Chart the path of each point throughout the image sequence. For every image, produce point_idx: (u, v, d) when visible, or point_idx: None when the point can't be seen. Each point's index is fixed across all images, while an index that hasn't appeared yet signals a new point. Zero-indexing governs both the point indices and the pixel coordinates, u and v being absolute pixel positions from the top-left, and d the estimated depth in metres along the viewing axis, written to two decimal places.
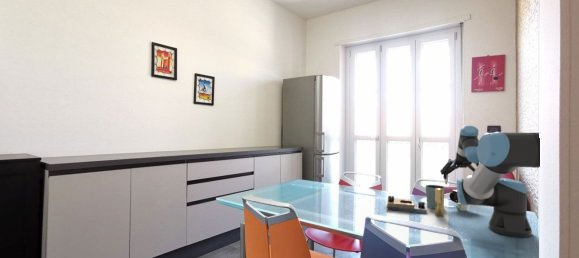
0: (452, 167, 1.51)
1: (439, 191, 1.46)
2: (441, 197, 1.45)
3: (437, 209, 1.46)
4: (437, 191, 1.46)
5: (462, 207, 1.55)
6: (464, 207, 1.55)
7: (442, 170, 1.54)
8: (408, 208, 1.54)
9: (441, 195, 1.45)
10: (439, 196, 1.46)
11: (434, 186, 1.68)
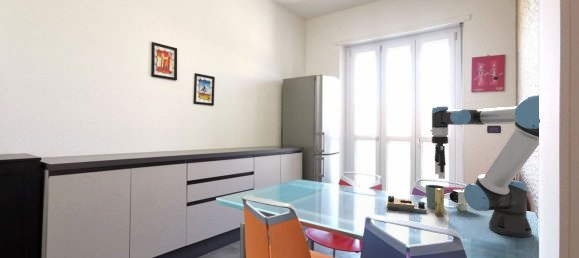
0: None
1: (439, 191, 1.46)
2: (441, 197, 1.45)
3: (437, 209, 1.46)
4: (437, 191, 1.46)
5: (462, 207, 1.55)
6: (464, 207, 1.55)
7: (442, 160, 1.39)
8: (408, 208, 1.54)
9: (441, 195, 1.45)
10: (439, 196, 1.46)
11: (434, 186, 1.68)
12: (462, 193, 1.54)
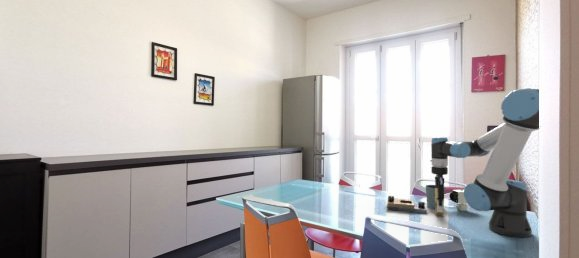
0: None
1: None
2: None
3: None
4: (437, 191, 1.46)
5: (462, 207, 1.55)
6: (464, 207, 1.55)
7: (441, 195, 1.42)
8: (408, 208, 1.54)
9: None
10: None
11: (434, 186, 1.68)
12: (462, 193, 1.54)
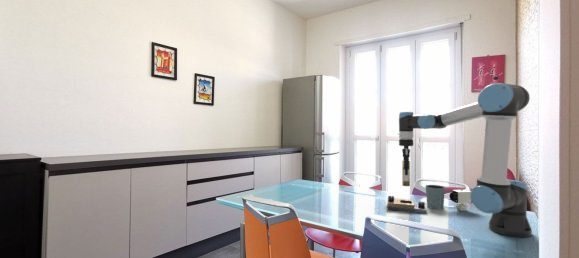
0: None
1: None
2: None
3: None
4: None
5: (462, 207, 1.55)
6: (464, 207, 1.55)
7: (406, 165, 1.54)
8: (408, 208, 1.54)
9: None
10: None
11: (434, 186, 1.68)
12: (462, 193, 1.54)
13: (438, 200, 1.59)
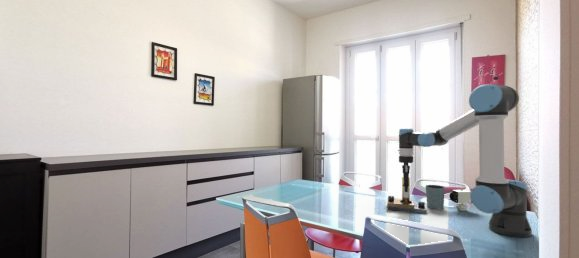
0: None
1: None
2: None
3: None
4: (403, 179, 1.58)
5: (462, 207, 1.55)
6: (464, 207, 1.55)
7: (406, 182, 1.54)
8: (408, 208, 1.54)
9: None
10: None
11: (434, 186, 1.68)
12: (462, 193, 1.54)
13: (438, 200, 1.59)
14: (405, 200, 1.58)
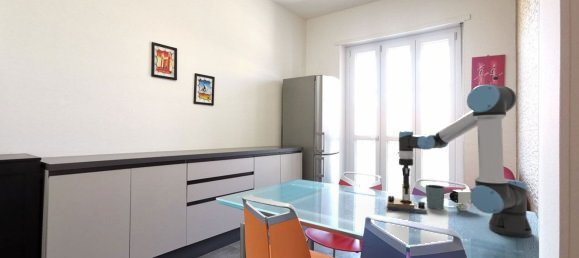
0: None
1: None
2: None
3: None
4: None
5: (462, 207, 1.55)
6: (464, 207, 1.55)
7: (406, 184, 1.52)
8: (408, 208, 1.54)
9: None
10: None
11: (434, 186, 1.68)
12: (462, 193, 1.54)
13: (438, 200, 1.59)
14: None
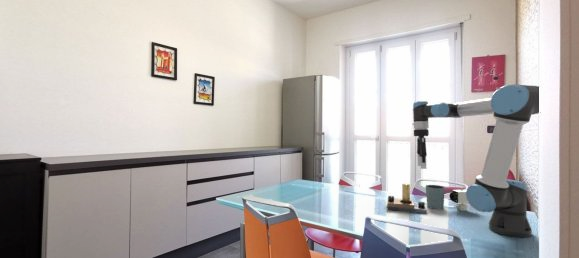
0: None
1: (405, 186, 1.58)
2: (407, 192, 1.58)
3: None
4: (404, 186, 1.58)
5: (462, 207, 1.55)
6: (464, 207, 1.55)
7: (423, 151, 1.47)
8: (408, 208, 1.54)
9: (407, 190, 1.58)
10: (405, 191, 1.58)
11: (434, 186, 1.68)
12: (462, 193, 1.54)
13: (438, 200, 1.59)
14: None
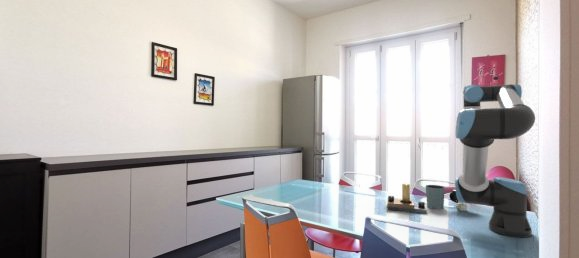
0: None
1: (405, 186, 1.58)
2: (407, 192, 1.58)
3: None
4: (404, 186, 1.58)
5: (462, 207, 1.55)
6: (464, 207, 1.55)
7: None
8: (408, 208, 1.54)
9: (407, 190, 1.58)
10: (405, 191, 1.58)
11: (434, 186, 1.68)
12: None
13: (438, 200, 1.59)
14: None
